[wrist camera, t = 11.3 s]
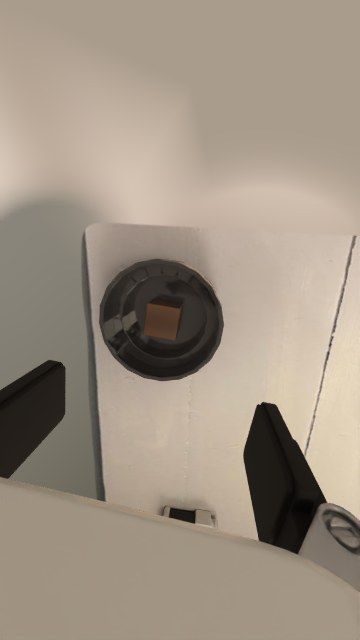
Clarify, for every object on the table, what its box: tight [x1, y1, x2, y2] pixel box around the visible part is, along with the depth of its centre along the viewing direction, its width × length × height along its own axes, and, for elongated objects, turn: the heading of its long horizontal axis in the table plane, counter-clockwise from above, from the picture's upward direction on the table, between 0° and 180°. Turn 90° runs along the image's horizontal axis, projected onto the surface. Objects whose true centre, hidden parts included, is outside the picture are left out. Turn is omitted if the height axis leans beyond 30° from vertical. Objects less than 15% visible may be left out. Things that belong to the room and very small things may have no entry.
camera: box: [163, 506, 218, 530], centre depth 40 cm, size 15×7×10 cm
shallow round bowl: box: [99, 259, 224, 381], centre depth 29 cm, size 15×15×6 cm
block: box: [144, 298, 183, 340], centre depth 30 cm, size 4×4×4 cm
